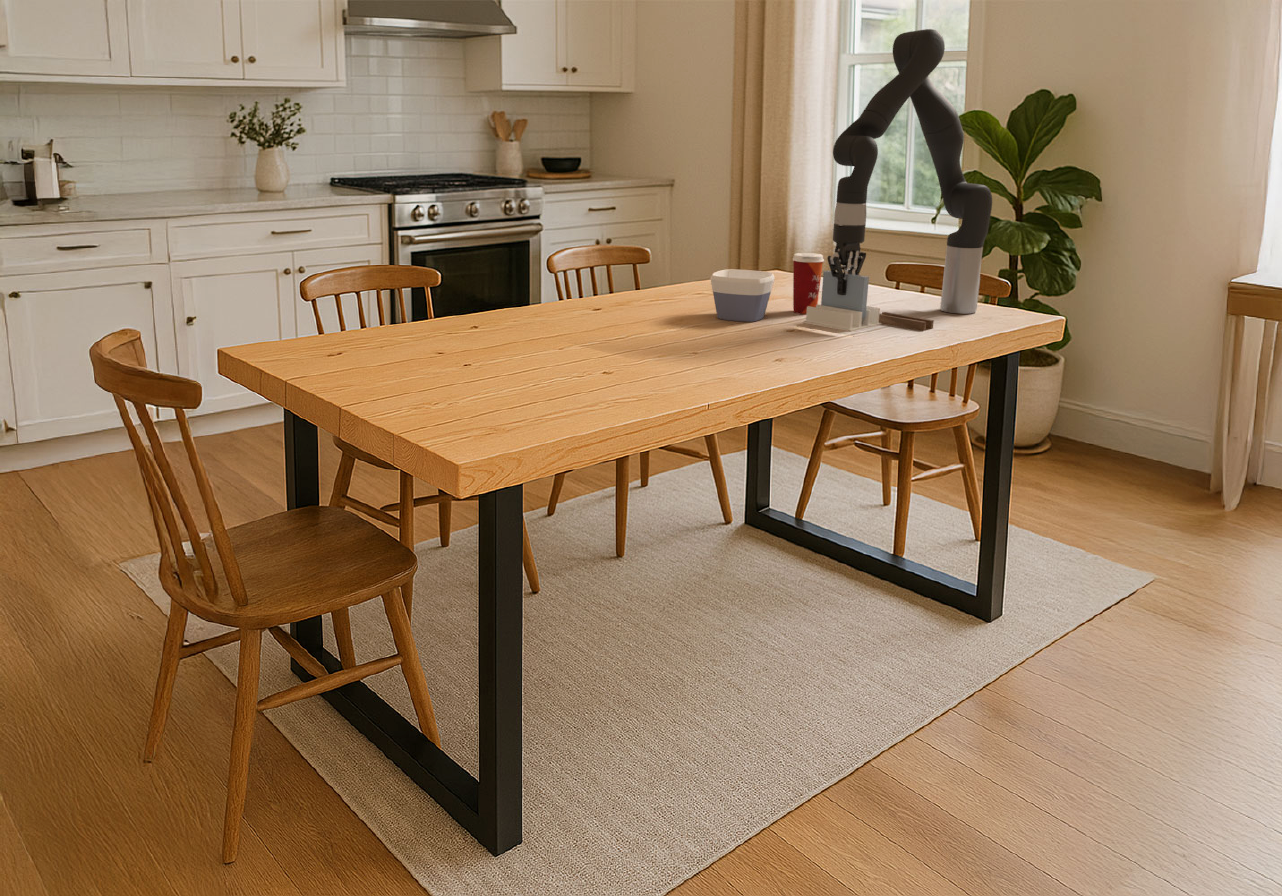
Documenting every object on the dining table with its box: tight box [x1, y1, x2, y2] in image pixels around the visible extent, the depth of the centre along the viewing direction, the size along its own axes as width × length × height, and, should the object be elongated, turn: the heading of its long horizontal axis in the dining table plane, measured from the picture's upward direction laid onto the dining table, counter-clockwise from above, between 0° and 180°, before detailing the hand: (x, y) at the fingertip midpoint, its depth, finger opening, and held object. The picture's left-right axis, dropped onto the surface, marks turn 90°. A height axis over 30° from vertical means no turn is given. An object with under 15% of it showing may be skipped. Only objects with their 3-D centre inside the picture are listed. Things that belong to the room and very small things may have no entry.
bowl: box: [709, 268, 776, 323], centre depth 275 cm, size 15×15×11 cm
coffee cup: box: [791, 252, 825, 315], centre depth 284 cm, size 8×8×15 cm
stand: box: [879, 311, 935, 332], centre depth 267 cm, size 5×14×3 cm, turn 45°
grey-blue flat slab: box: [820, 269, 870, 318], centre depth 265 cm, size 2×12×10 cm, turn 45°
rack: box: [802, 304, 882, 332], centre depth 267 cm, size 13×14×5 cm
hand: (844, 294), depth 265 cm, fingers closed on grey-blue flat slab, 1 cm apart
